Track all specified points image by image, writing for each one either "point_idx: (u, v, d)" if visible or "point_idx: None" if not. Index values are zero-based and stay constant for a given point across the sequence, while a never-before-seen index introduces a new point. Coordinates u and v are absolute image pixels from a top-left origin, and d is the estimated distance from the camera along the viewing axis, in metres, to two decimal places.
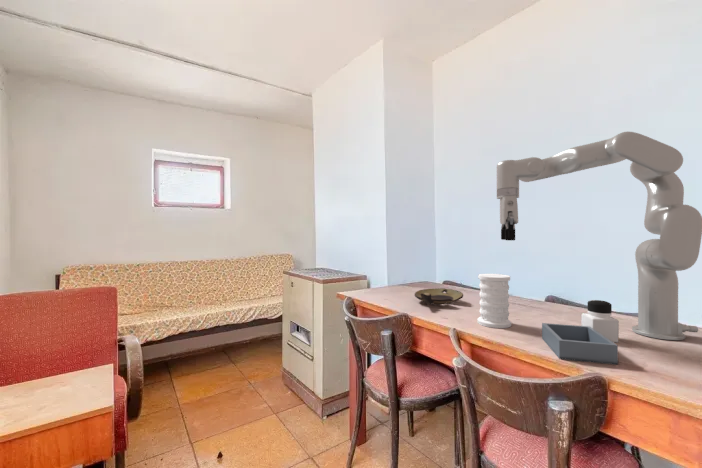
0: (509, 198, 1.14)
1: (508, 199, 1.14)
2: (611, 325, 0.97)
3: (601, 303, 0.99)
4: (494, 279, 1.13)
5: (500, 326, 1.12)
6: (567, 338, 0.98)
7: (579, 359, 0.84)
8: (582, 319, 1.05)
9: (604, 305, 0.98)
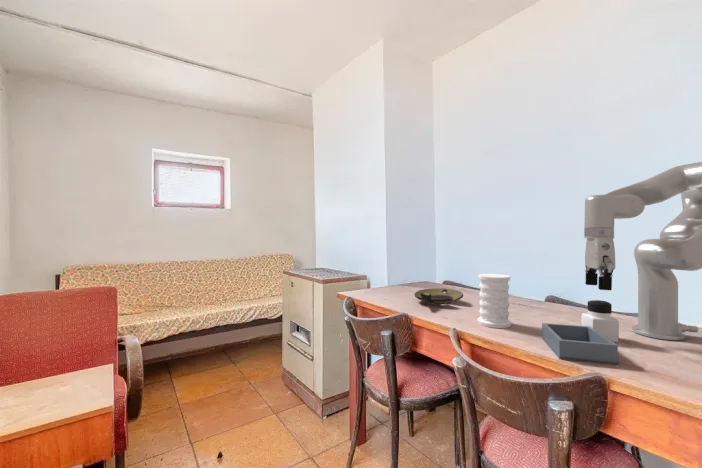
0: (604, 240, 0.97)
1: (603, 241, 0.97)
2: (611, 325, 0.97)
3: (601, 303, 0.99)
4: (494, 279, 1.13)
5: (500, 326, 1.12)
6: (567, 338, 0.98)
7: (579, 359, 0.84)
8: (582, 319, 1.05)
9: (604, 305, 0.98)
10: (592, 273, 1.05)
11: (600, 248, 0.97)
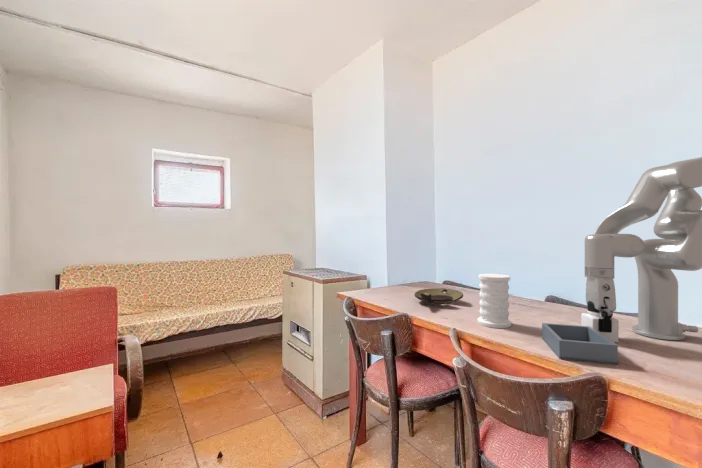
0: (605, 281, 0.97)
1: (603, 282, 0.97)
2: None
3: None
4: (494, 279, 1.13)
5: (500, 326, 1.12)
6: (567, 338, 0.98)
7: (579, 359, 0.84)
8: (582, 319, 1.05)
9: None
10: None
11: (601, 289, 0.97)
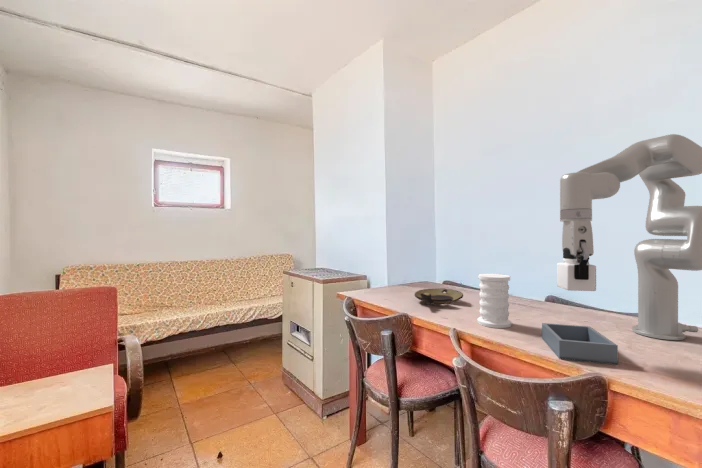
0: (581, 222, 0.87)
1: (579, 224, 0.87)
2: None
3: None
4: (494, 279, 1.13)
5: (500, 326, 1.12)
6: (567, 338, 0.98)
7: (579, 359, 0.84)
8: (557, 269, 0.94)
9: None
10: None
11: (576, 231, 0.87)
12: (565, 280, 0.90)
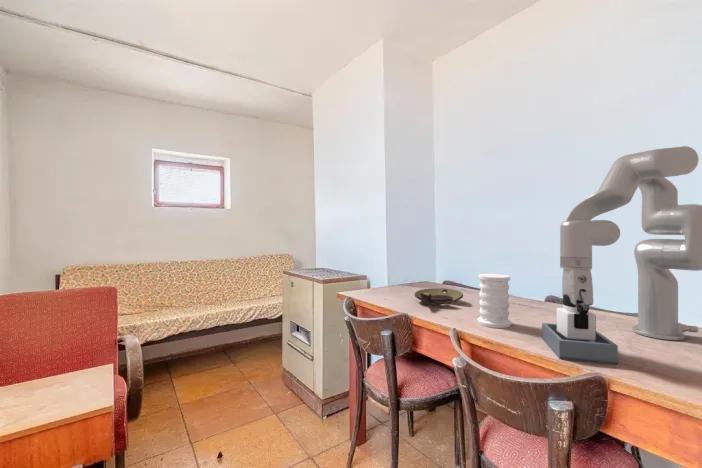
0: (581, 272, 0.87)
1: (579, 273, 0.87)
2: (588, 321, 0.87)
3: None
4: (494, 279, 1.13)
5: (500, 326, 1.12)
6: None
7: (579, 359, 0.84)
8: (557, 314, 0.94)
9: None
10: None
11: (576, 281, 0.87)
12: (564, 328, 0.90)
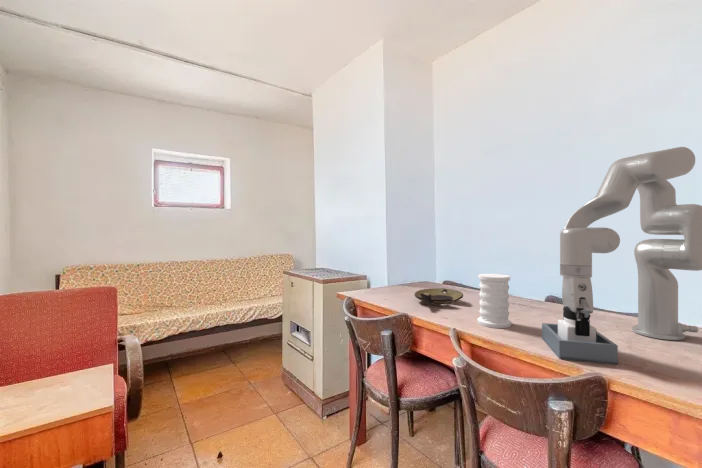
0: (581, 280, 0.87)
1: (579, 281, 0.87)
2: None
3: None
4: (494, 279, 1.13)
5: (500, 326, 1.12)
6: None
7: (579, 359, 0.84)
8: (558, 326, 0.94)
9: None
10: None
11: (576, 289, 0.87)
12: None
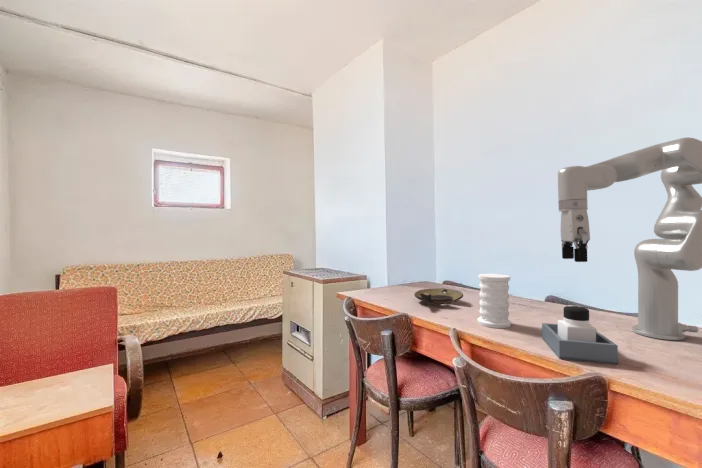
0: (578, 212, 0.96)
1: (577, 213, 0.96)
2: (588, 334, 0.87)
3: (577, 309, 0.89)
4: (494, 279, 1.13)
5: (500, 326, 1.12)
6: None
7: (579, 359, 0.84)
8: (558, 326, 0.94)
9: (580, 311, 0.88)
10: (568, 247, 1.05)
11: (574, 220, 0.96)
12: None
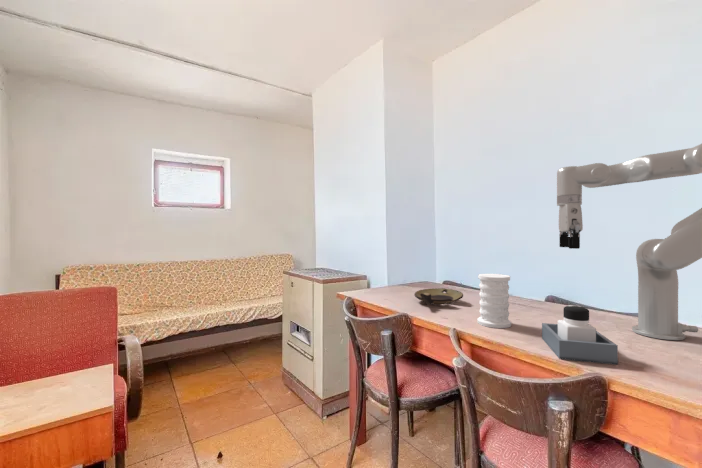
0: (573, 205, 1.11)
1: (572, 206, 1.11)
2: (588, 334, 0.87)
3: (577, 309, 0.89)
4: (494, 279, 1.13)
5: (500, 326, 1.12)
6: None
7: (579, 359, 0.84)
8: (558, 326, 0.94)
9: (580, 311, 0.88)
10: (565, 236, 1.20)
11: (569, 212, 1.11)
12: None
